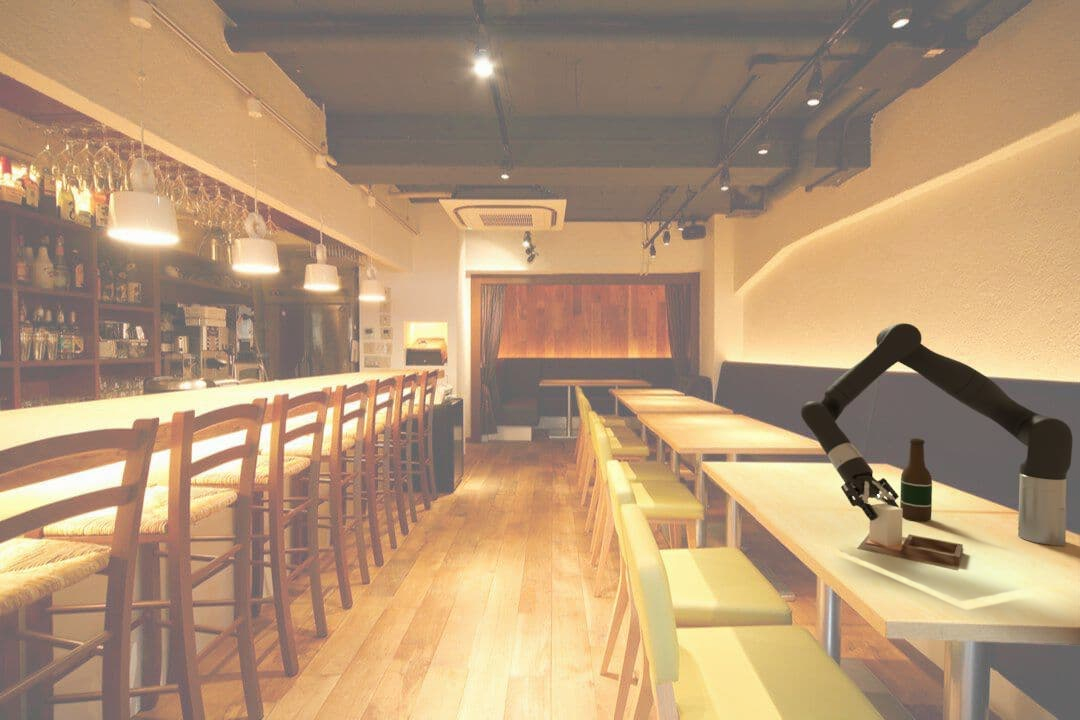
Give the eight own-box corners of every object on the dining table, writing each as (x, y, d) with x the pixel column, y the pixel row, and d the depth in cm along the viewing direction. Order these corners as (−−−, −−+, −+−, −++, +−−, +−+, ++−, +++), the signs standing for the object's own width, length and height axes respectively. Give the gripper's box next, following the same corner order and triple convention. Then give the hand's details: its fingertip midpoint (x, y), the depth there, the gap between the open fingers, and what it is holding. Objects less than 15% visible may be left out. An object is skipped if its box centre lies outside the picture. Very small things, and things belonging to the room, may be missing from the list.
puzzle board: (963, 553, 137) (963, 540, 136) (957, 575, 123) (958, 561, 123) (871, 535, 150) (871, 523, 150) (856, 553, 136) (857, 540, 136)
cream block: (883, 537, 143) (884, 503, 143) (901, 544, 138) (902, 508, 138) (869, 539, 141) (870, 505, 141) (887, 546, 137) (887, 510, 136)
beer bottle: (930, 523, 160) (932, 442, 160) (899, 518, 165) (900, 439, 164) (931, 517, 166) (933, 438, 166) (901, 512, 171) (902, 436, 170)
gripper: (837, 457, 145) (876, 512, 134) (877, 454, 150) (918, 507, 139) (821, 473, 150) (857, 527, 140) (860, 469, 155) (897, 522, 144)
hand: (887, 517), depth 139 cm, fingers open, 8 cm apart
